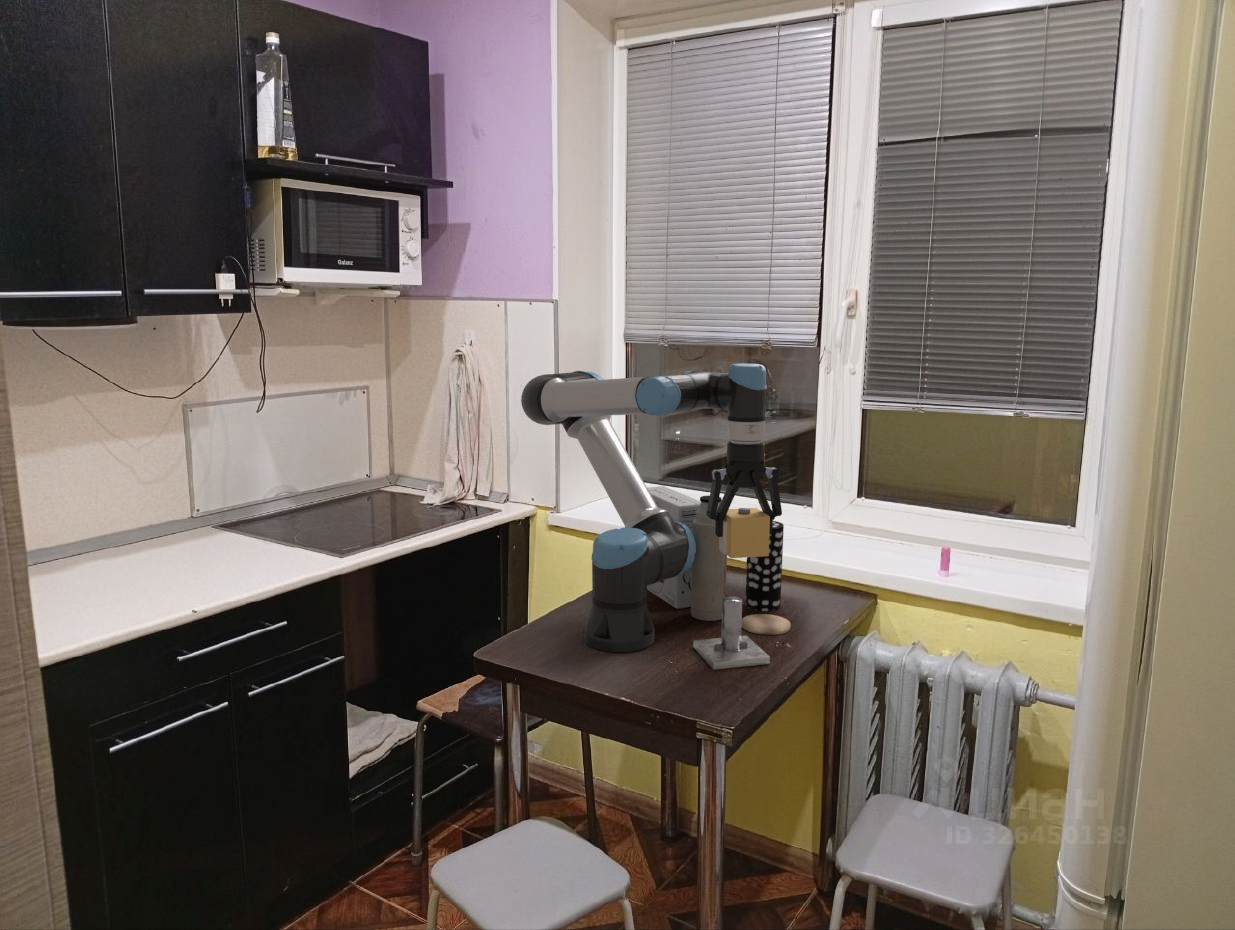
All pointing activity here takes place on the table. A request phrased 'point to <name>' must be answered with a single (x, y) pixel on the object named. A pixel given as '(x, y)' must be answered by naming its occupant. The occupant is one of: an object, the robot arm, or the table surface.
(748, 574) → the white-spotted black cylinder
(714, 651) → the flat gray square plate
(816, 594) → the table surface
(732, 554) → the yellow knobbed cube
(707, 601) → the thermos bottle
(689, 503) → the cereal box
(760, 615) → the cork pad
